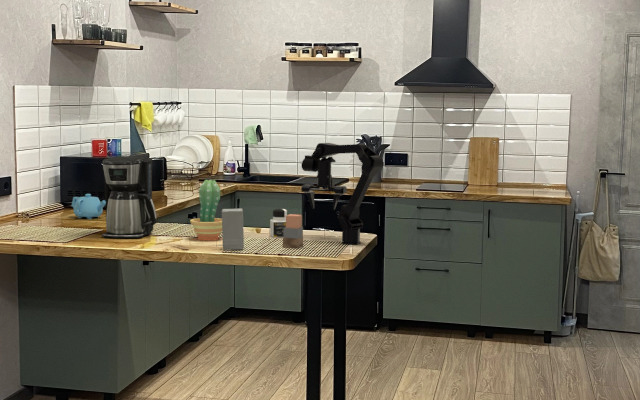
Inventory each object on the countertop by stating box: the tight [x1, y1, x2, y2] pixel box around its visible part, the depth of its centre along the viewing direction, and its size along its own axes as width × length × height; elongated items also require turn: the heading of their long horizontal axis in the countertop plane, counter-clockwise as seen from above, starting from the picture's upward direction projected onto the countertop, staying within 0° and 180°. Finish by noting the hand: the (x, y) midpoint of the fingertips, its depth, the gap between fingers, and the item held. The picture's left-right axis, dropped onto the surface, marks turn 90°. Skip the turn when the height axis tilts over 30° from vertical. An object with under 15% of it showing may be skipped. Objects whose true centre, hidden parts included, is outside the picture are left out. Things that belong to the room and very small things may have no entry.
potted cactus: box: [190, 179, 222, 241], centre depth 365 cm, size 15×15×25 cm
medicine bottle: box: [269, 208, 288, 239], centre depth 376 cm, size 7×7×12 cm
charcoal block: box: [284, 226, 304, 239], centre depth 350 cm, size 6×6×4 cm
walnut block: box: [282, 236, 304, 249], centre depth 350 cm, size 6×6×4 cm
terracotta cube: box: [286, 213, 303, 229], centre depth 349 cm, size 5×5×5 cm
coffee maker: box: [101, 155, 158, 239], centre depth 375 cm, size 23×32×34 cm
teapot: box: [71, 193, 106, 220], centre depth 426 cm, size 20×17×12 cm
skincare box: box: [221, 207, 245, 251], centre depth 342 cm, size 8×7×16 cm
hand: (323, 209), depth 369 cm, fingers open, 9 cm apart
